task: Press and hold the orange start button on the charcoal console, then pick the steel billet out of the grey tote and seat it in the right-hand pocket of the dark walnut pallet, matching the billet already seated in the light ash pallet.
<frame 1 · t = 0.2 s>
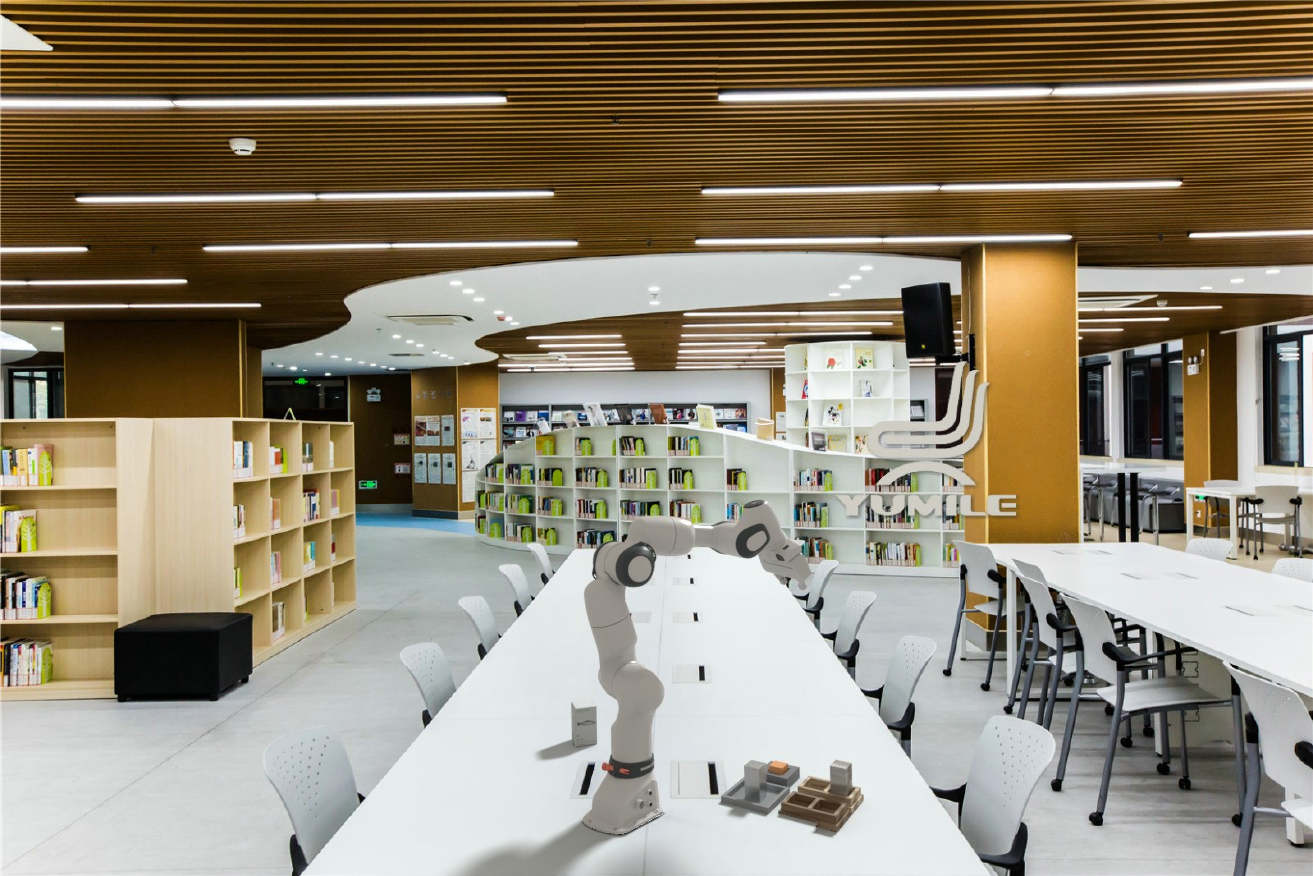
hand: (793, 586, 244), 54 cm above the table, tool tilted 30°, fingers open, 8 cm apart
billet: (755, 797, 220), point 1 cm above the table, touching tote
tote: (755, 800, 220), on the table
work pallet: (814, 816, 210), on the table
button console: (779, 783, 230), on the table
start button: (778, 769, 230), point 4 cm above the table, slide at 0.0 cm
supplement box: (584, 742, 265), on the table
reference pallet: (829, 800, 220), on the table
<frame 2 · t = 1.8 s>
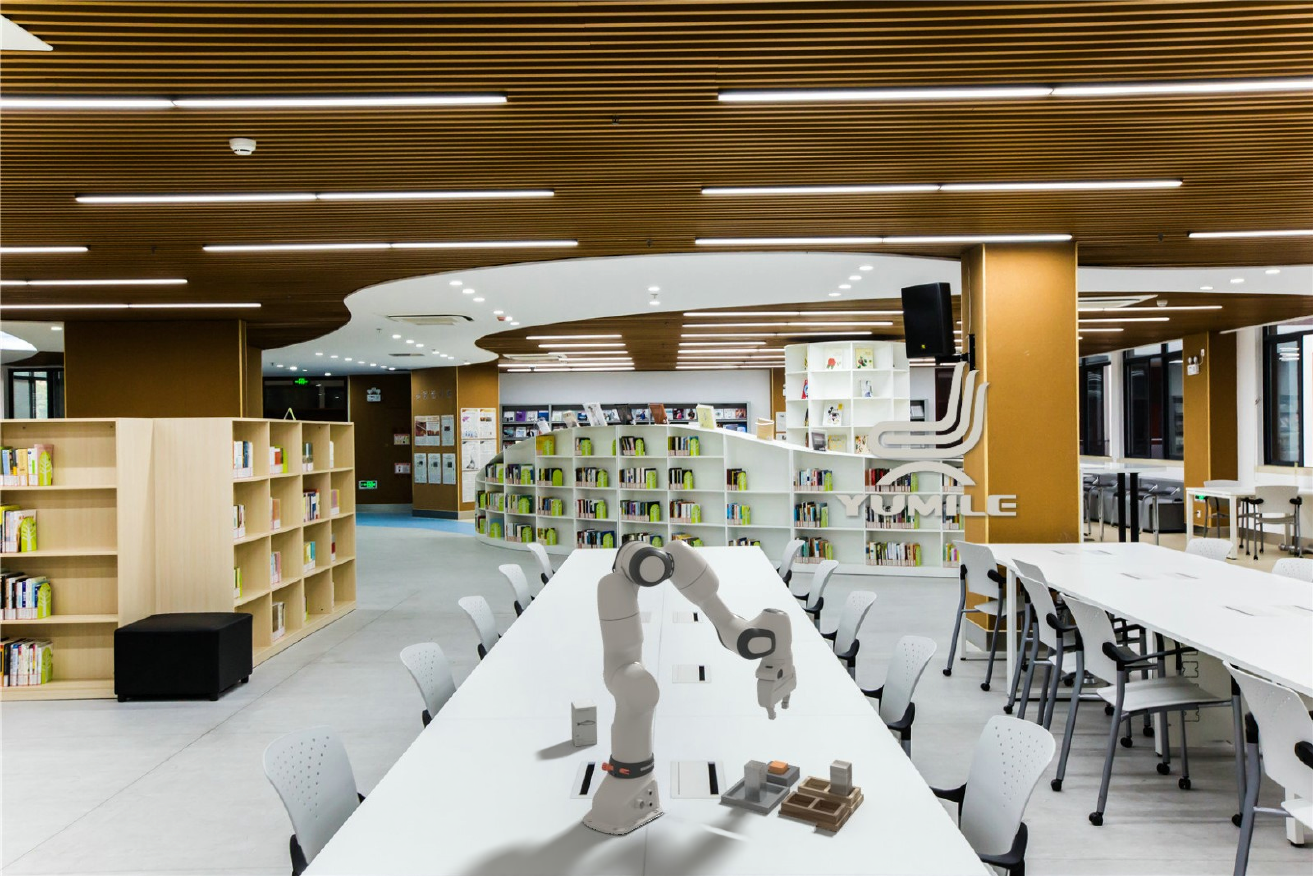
hand: (778, 713, 231), 20 cm above the table, tool pointing down, fingers open, 8 cm apart
nothing on the table moved.
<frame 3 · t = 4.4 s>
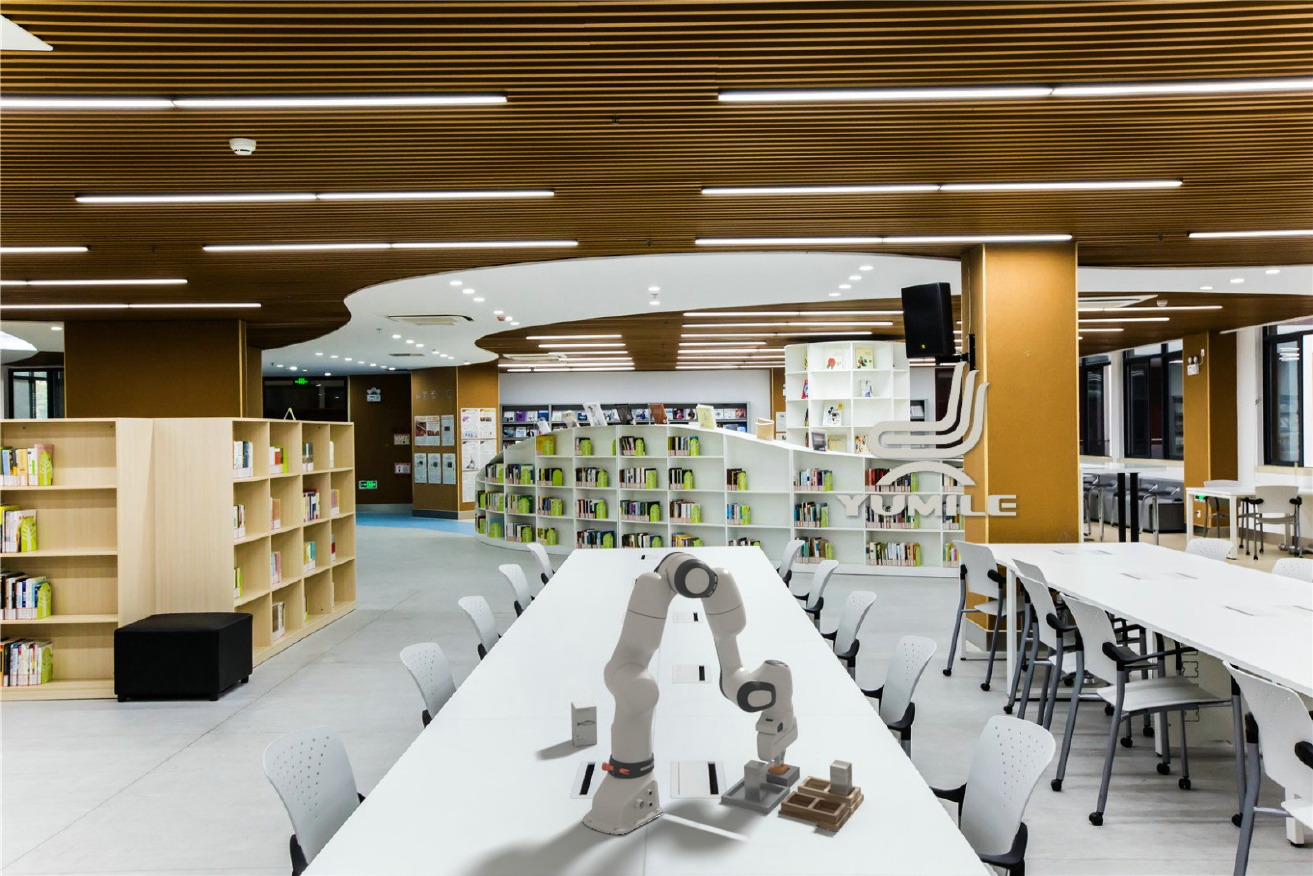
hand: (779, 765, 231), 5 cm above the table, tool pointing down, fingers closed, pressing on start button
start button: (778, 771, 230), point 4 cm above the table, slide at 0.4 cm, touching gripper
everything else where it was.
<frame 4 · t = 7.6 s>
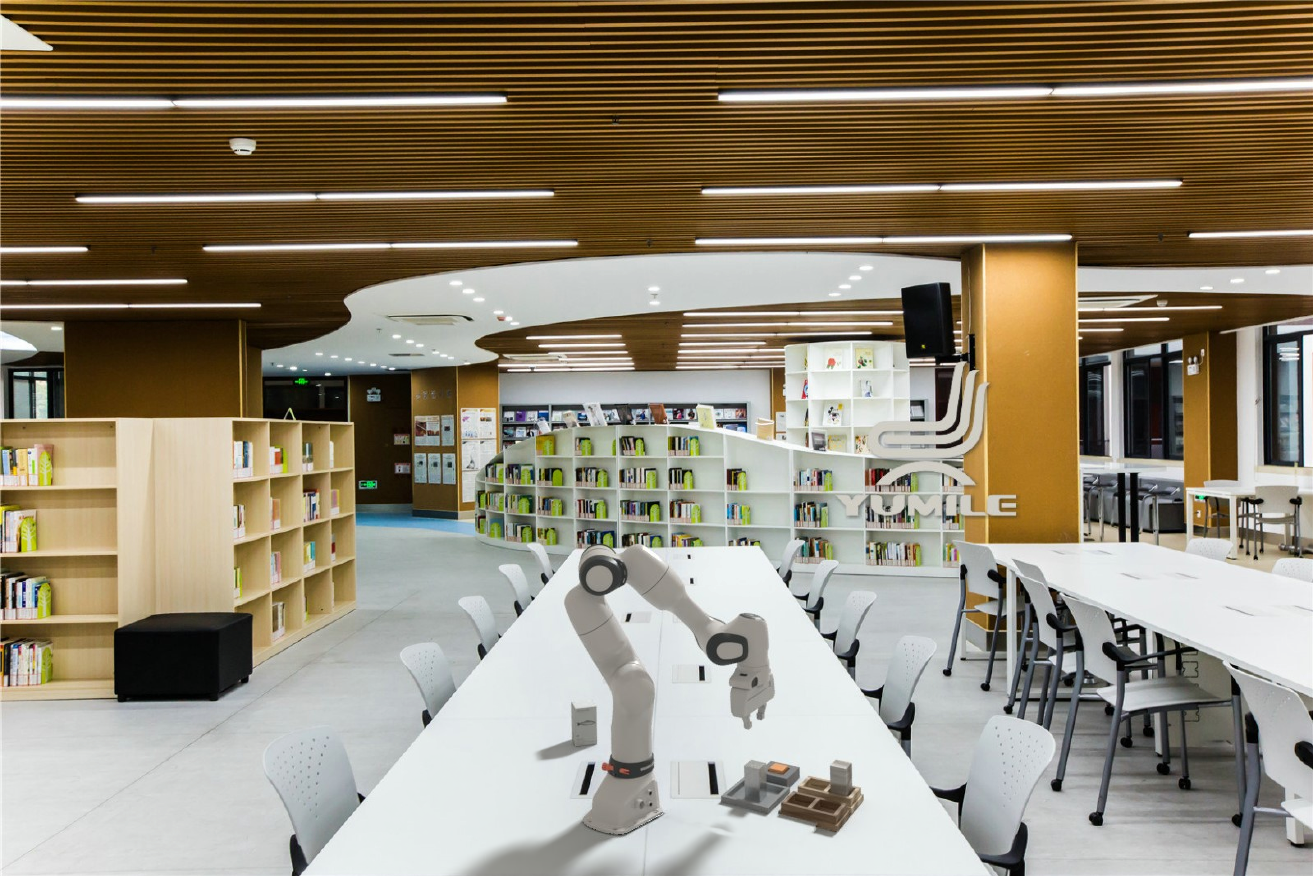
hand: (754, 723, 220), 21 cm above the table, tool pointing down, fingers open, 6 cm apart
start button: (778, 772, 230), point 3 cm above the table, slide at 0.8 cm
everything else where it was.
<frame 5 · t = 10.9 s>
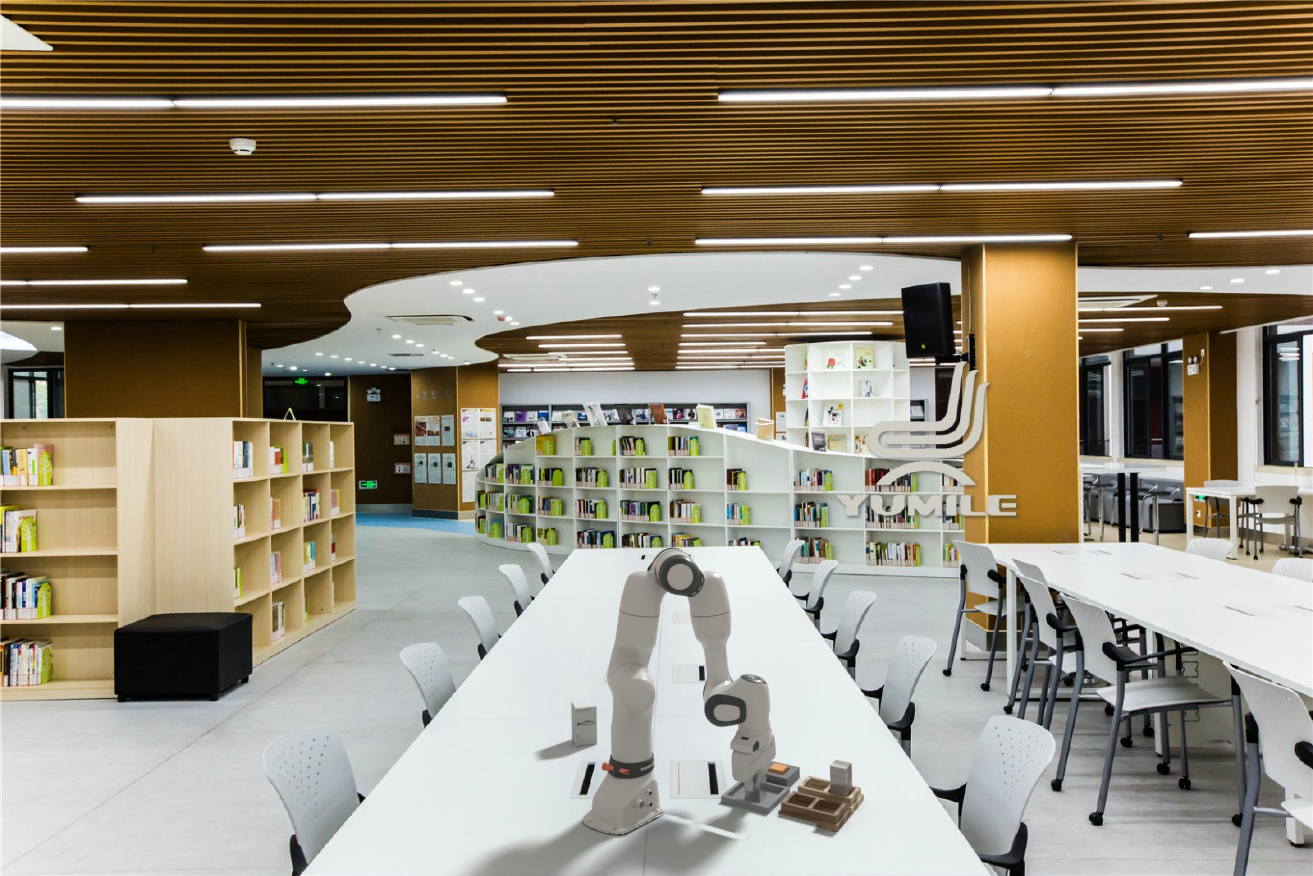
hand: (755, 785, 220), 4 cm above the table, tool pointing down, fingers closed on billet, 4 cm apart
billet: (755, 797, 220), point 1 cm above the table, touching gripper, tote
everything else where it was.
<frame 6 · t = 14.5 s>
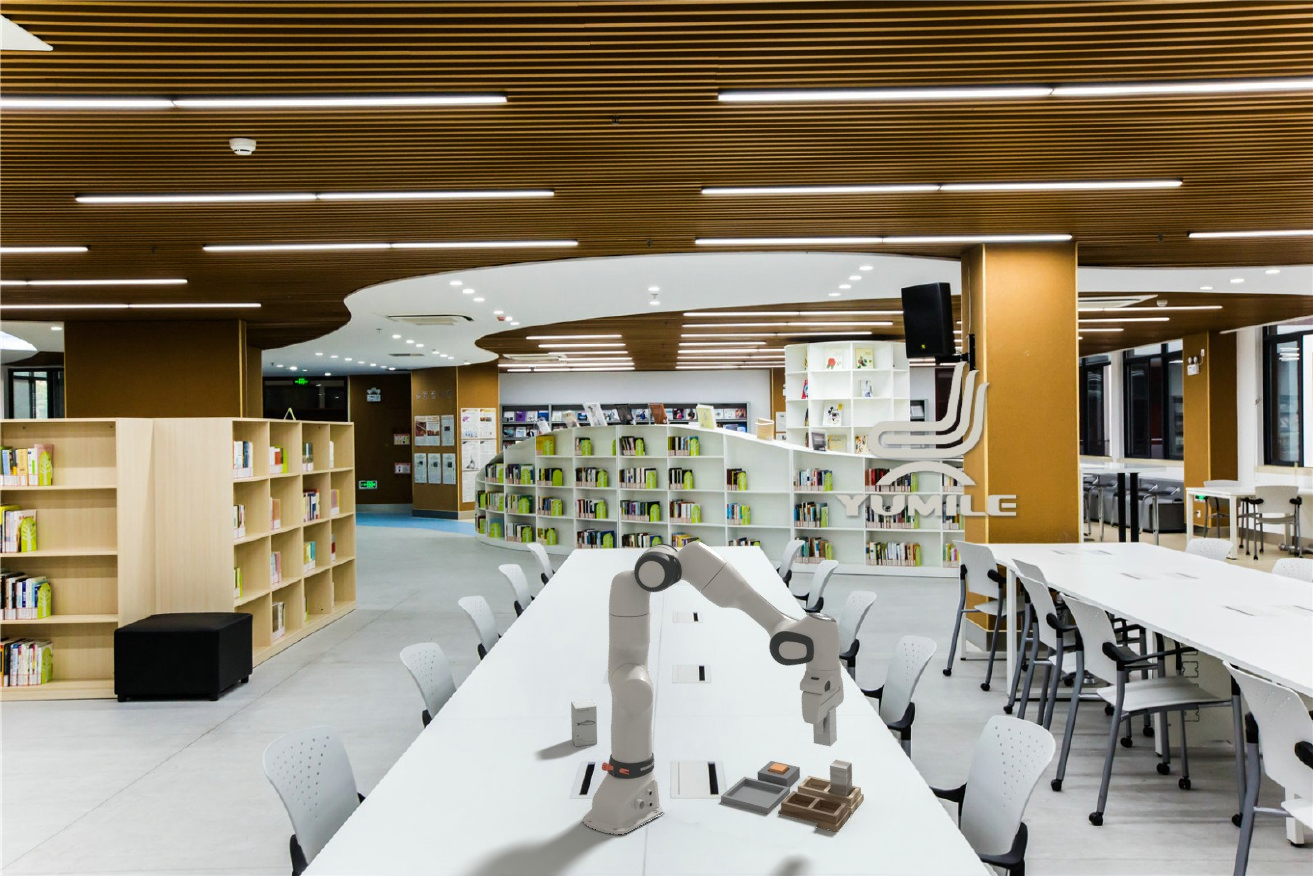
hand: (824, 730, 208), 23 cm above the table, tool pointing down, fingers closed on billet, 4 cm apart
billet: (825, 741, 208), point 20 cm above the table, touching gripper
everything else where it was.
when the fingers open (6 cm above the table, at t = 18.2 s): billet stays where it is, resting on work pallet.
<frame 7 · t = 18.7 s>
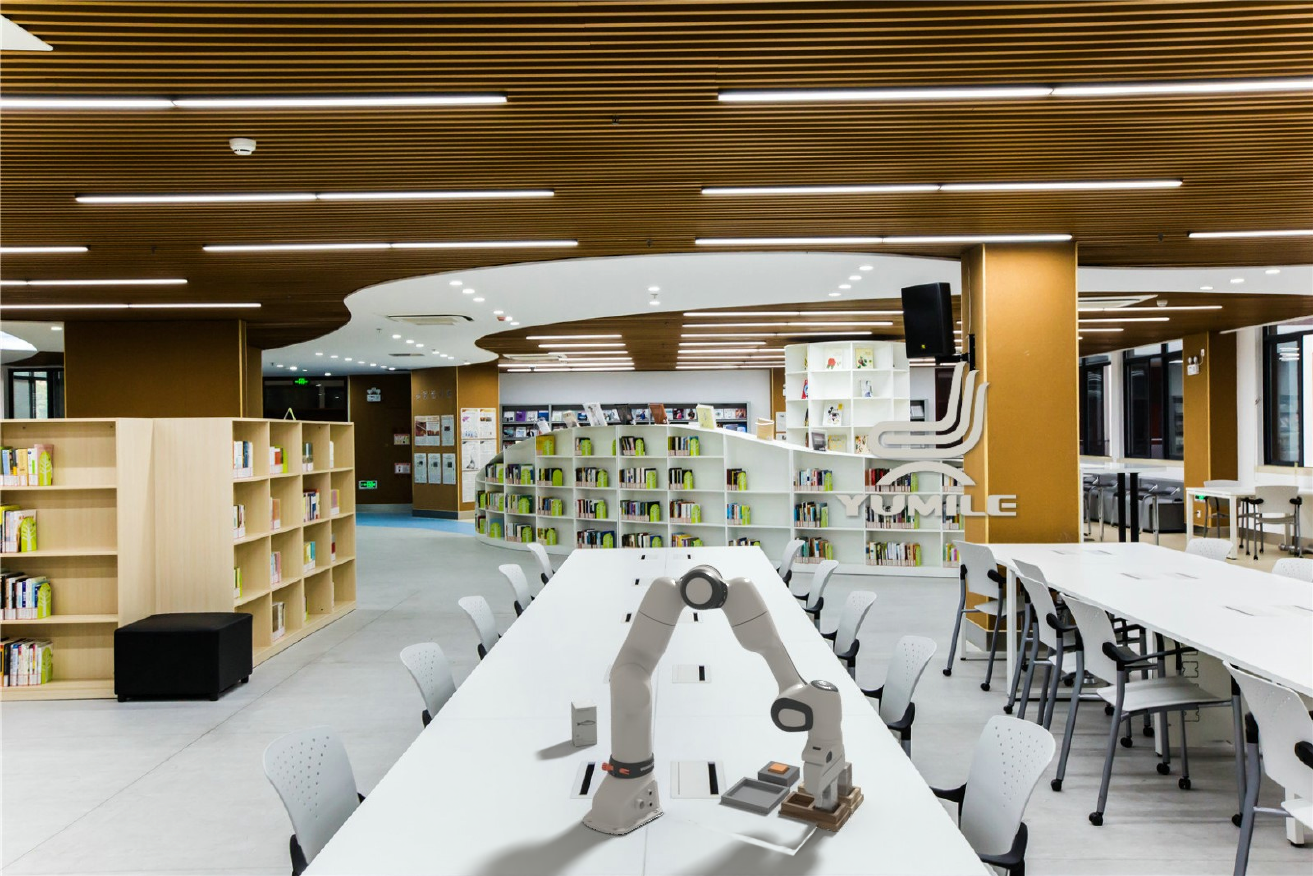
hand: (826, 798, 209), 6 cm above the table, tool pointing down, fingers open, 8 cm apart
billet: (826, 814, 209), point 1 cm above the table, touching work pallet
everything else where it was.
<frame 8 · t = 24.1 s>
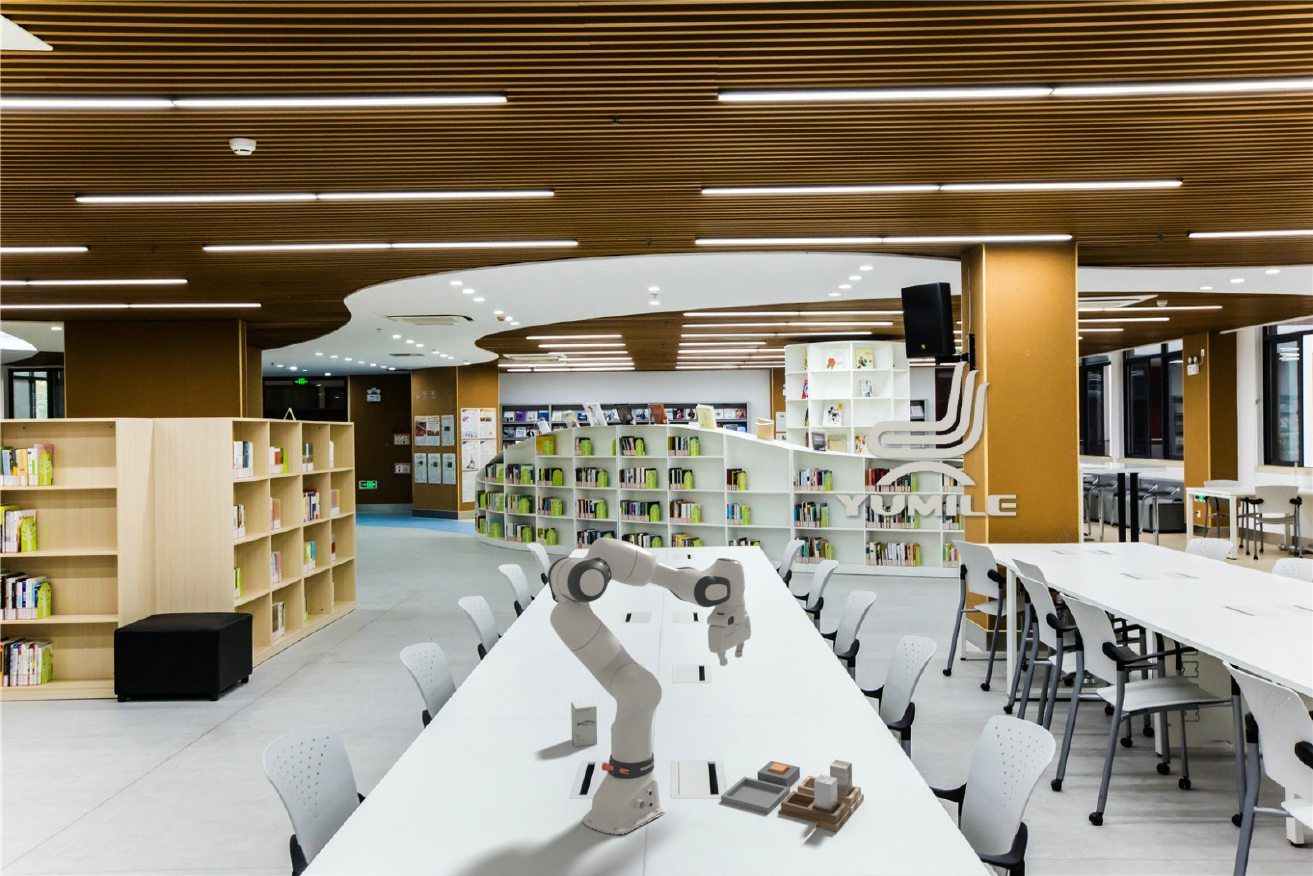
hand: (731, 661, 235), 34 cm above the table, tool pointing down, fingers open, 8 cm apart
nothing on the table moved.
at the end: start button slide at 0.8 cm; billet 0.1 cm from the target spot on the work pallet, point 1.5 cm above the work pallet's base; billet tilted 0° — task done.
